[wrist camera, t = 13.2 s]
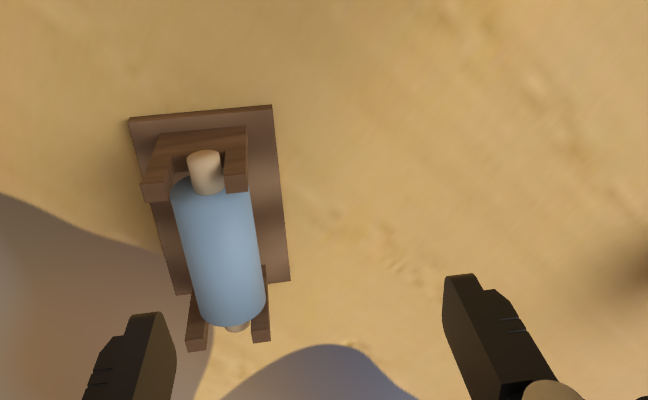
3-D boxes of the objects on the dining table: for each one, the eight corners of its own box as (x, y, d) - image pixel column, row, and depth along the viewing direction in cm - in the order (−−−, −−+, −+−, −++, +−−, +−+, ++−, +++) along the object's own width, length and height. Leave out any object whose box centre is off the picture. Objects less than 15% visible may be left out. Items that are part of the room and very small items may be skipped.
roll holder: (130, 117, 33) (98, 173, 26) (271, 104, 34) (278, 154, 27) (177, 287, 42) (163, 365, 34) (289, 273, 43) (298, 346, 35)
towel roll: (152, 153, 30) (174, 184, 26) (226, 133, 32) (256, 160, 28) (195, 316, 37) (218, 358, 34) (253, 291, 40) (280, 329, 36)
